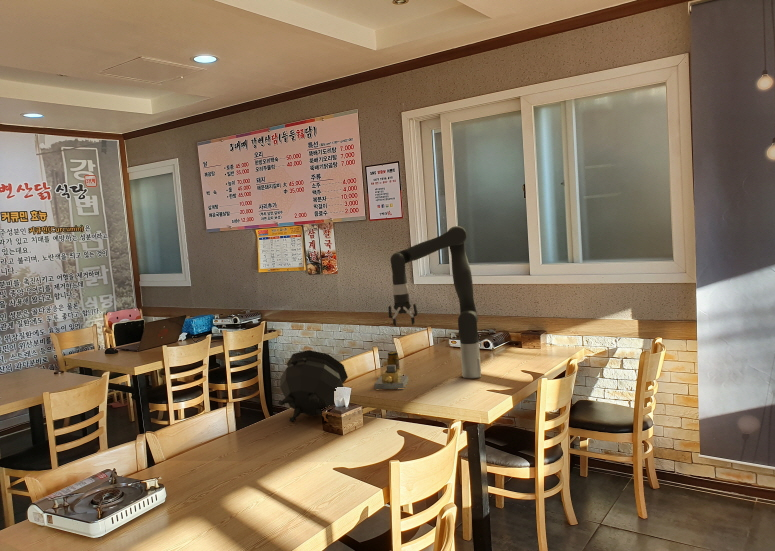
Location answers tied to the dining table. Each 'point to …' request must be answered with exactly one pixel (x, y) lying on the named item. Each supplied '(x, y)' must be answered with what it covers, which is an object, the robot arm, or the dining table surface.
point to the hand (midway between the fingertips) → (404, 325)
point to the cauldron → (311, 382)
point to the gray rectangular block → (391, 368)
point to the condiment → (393, 359)
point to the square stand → (391, 380)
